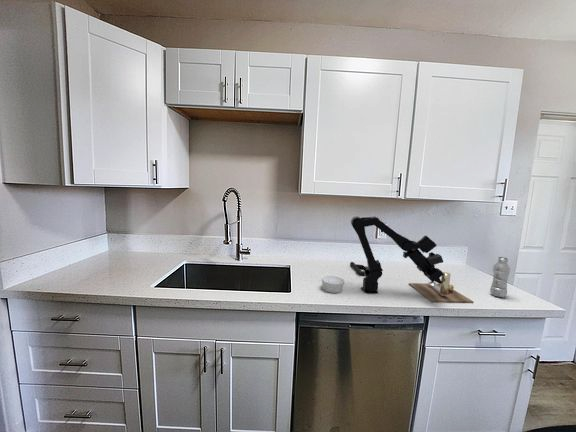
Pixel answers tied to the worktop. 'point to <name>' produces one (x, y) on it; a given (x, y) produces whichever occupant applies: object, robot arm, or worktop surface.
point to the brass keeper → (451, 288)
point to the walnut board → (436, 297)
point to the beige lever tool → (442, 284)
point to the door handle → (358, 268)
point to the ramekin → (332, 284)
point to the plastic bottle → (500, 278)
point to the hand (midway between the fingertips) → (440, 283)
